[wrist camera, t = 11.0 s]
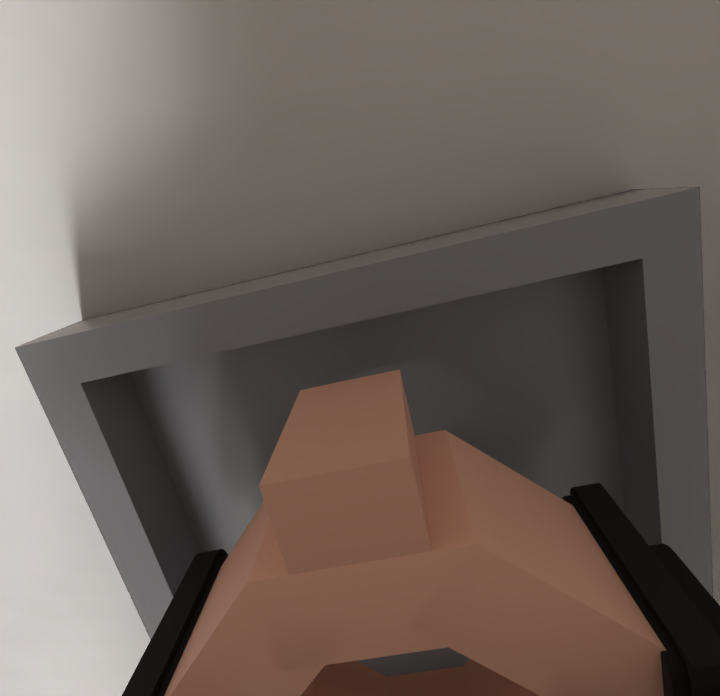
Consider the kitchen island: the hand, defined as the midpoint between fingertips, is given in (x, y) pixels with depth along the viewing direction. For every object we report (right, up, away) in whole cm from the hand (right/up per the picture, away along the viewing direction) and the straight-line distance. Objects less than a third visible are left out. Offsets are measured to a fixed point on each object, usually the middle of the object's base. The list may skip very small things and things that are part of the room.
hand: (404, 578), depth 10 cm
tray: (0, +1, +3) cm, 3 cm away
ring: (0, 0, 0) cm, 1 cm away
